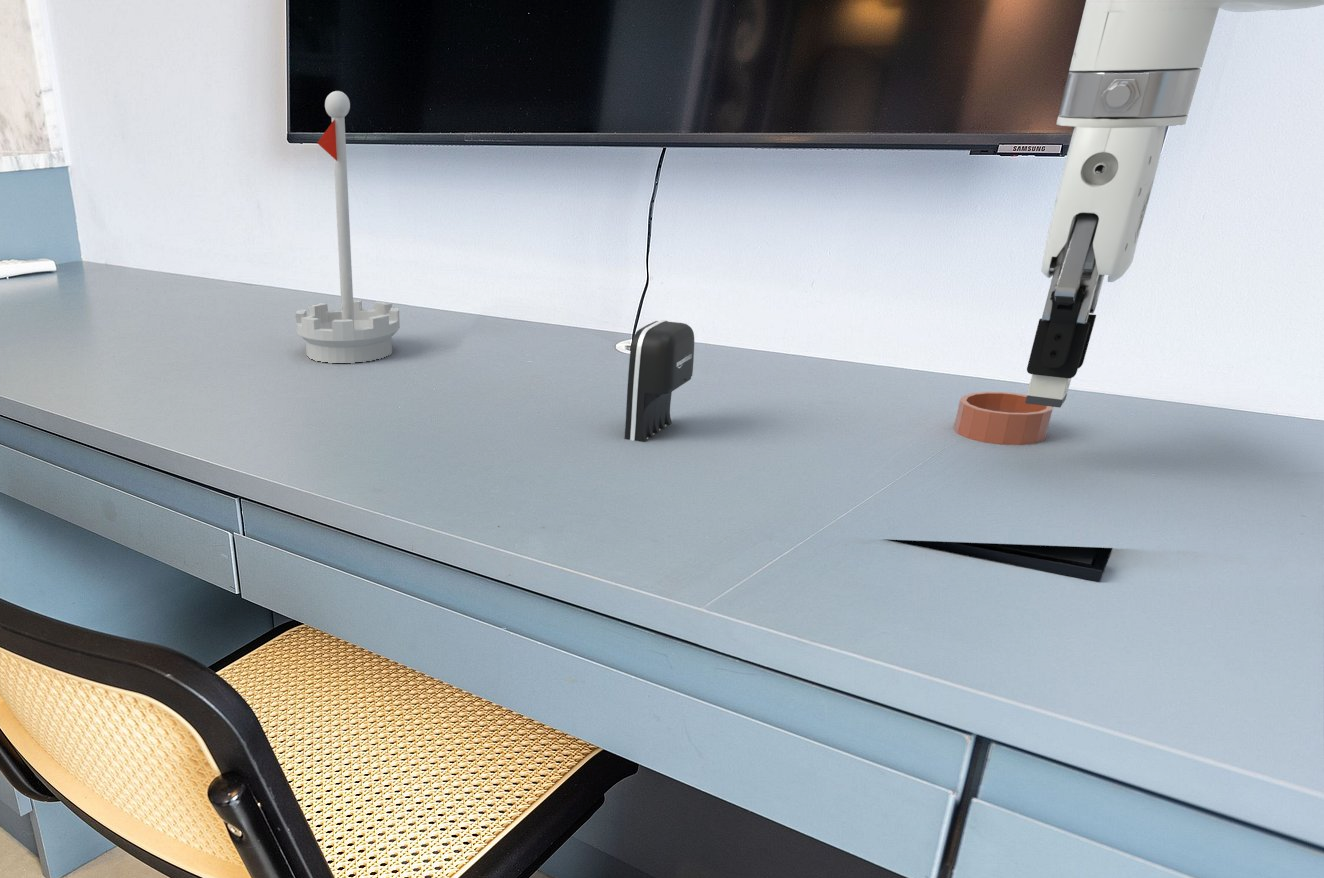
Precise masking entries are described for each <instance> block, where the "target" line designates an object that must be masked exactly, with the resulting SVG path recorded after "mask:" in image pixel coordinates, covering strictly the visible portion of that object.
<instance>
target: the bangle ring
mask: <svg viewBox="0 0 1324 878" xmlns="http://www.w3.org/2000/svg"><path fill="white" fill-rule="evenodd" d="M1026 397H1027V394H1023V393H1017V392H1016V393H1015V392H1006V391H979V392H971V393H967V394H965V395H962V396H961V398H960V399H959V403H958V407H957V411H956V417H955V420H954V425H953V431H955V432H956V434H957V435H959V436H962V437H964V438H966V439H969V440H973V441H977V442H981V443H986V444H994V445H1005V446H1025V445H1035V444H1038V443H1041V442H1043V441H1045V439H1046V437H1047V434H1048V431H1049V425H1050V422H1051V418H1052V414H1053V411H1054V407H1051V406H1043V405H1035V404H1027V403H1025V401H1026Z"/></svg>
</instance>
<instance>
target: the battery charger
mask: <svg viewBox="0 0 1324 878" xmlns="http://www.w3.org/2000/svg"><path fill="white" fill-rule="evenodd" d="M694 358H695V333H694V330H693V328H692V327H691V326H690V325H689V324H687V323H685V322H677V321H669V320H667V319H666V320H665V319H660V320H655V321H653V322H651V323H648V324H646V325H645V326H642V327H640V328H639V329H638V330H637V331H636V332H635V334H634V335H633V337H632V340H631V346H630V350H629V361H628V362H629V363H628V374H627V389H626V405H625V406H626V408H625V425H624V426H625V427H624V440H627V441H632V442H641V443H646V442H648V439H649V438H653V437H654V436H655V434H660V432H661V430H665V429H667V427H666V426H670V425H671V424H672V418H671V404H672V403H671V401H672V393H673V392H674V391H676V390H677V389H679V388H680V387H681V386H683V385H684V384H686V383H687V382H689V381H690V380H691V379H692V377H693V374H694V372H693V371H694Z"/></svg>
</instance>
